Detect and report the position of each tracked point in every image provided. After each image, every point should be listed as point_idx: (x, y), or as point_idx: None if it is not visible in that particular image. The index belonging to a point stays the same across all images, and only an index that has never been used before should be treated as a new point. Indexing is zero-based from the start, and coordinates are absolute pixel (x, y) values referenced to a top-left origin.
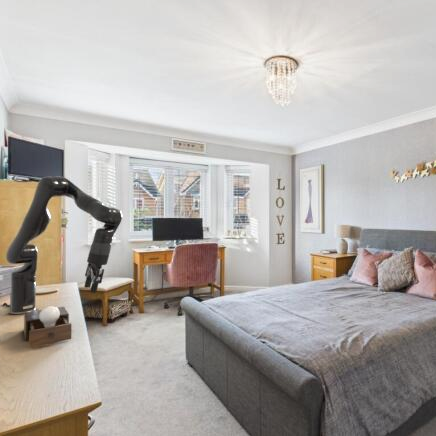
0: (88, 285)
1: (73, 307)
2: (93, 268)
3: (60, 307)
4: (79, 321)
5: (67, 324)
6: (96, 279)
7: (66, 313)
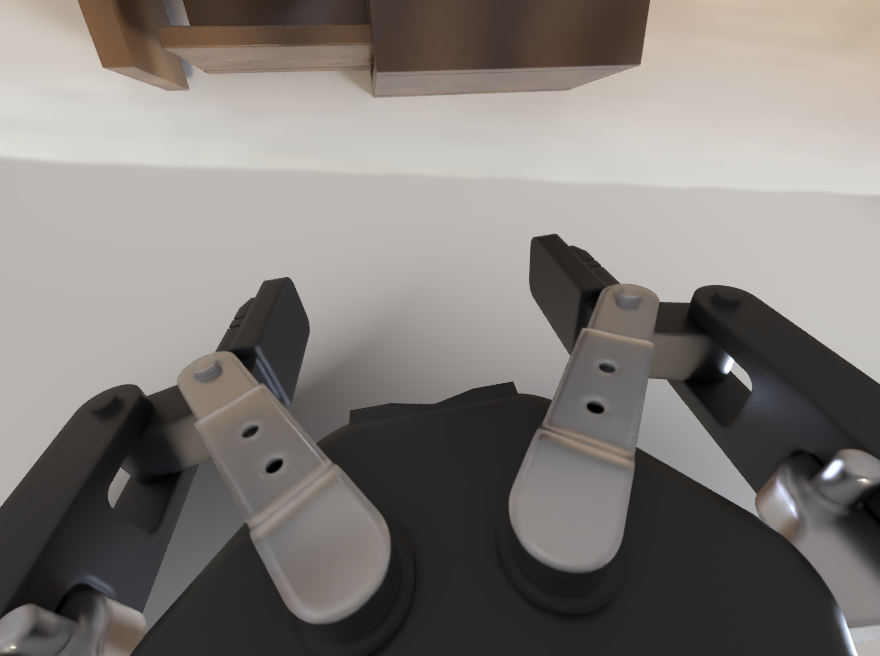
0: (540, 281)
1: (831, 171)
2: (321, 636)
3: (630, 30)
4: (548, 176)
5: (93, 32)
6: (54, 466)
7: (400, 55)
